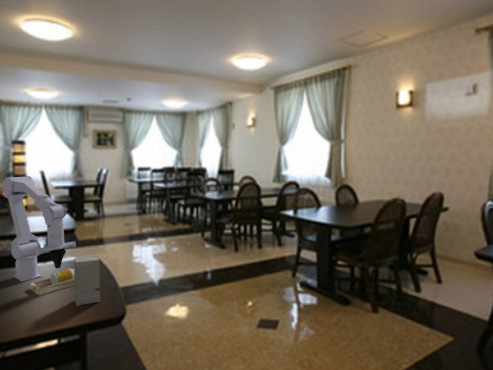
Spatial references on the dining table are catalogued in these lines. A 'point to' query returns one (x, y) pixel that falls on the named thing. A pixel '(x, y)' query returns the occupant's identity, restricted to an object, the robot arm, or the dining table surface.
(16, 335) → the dining table surface
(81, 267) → the skincare box
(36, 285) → the tray
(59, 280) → the supplement bottle
